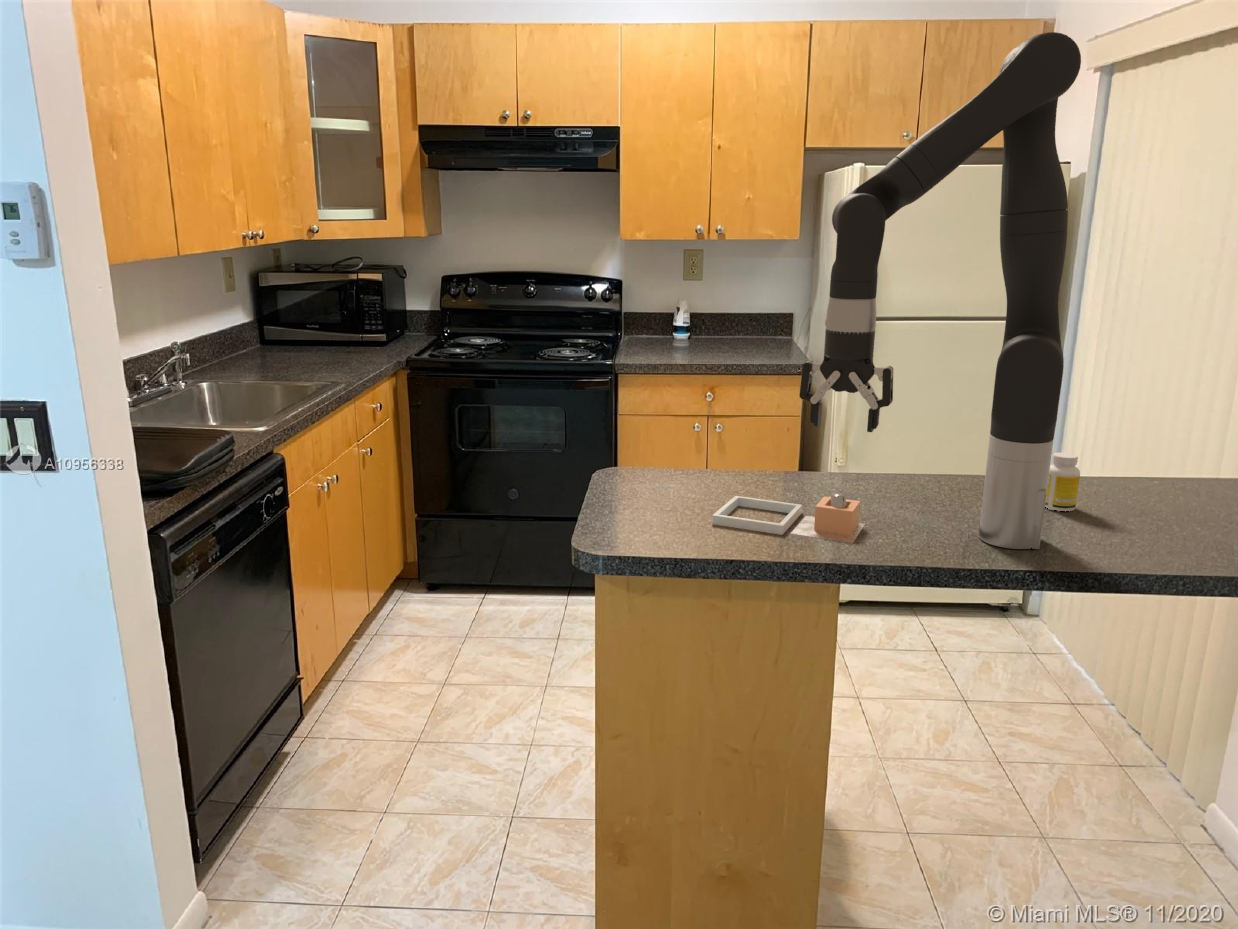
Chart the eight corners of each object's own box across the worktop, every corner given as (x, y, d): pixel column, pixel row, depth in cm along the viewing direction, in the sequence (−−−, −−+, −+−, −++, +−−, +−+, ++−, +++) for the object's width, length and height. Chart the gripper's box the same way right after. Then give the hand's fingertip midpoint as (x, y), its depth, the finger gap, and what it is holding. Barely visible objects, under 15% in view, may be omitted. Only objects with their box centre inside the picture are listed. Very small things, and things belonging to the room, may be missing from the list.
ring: (858, 524, 154) (860, 501, 152) (850, 535, 148) (852, 511, 147) (822, 518, 156) (824, 496, 155) (814, 529, 151) (815, 506, 150)
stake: (864, 529, 154) (867, 492, 152) (852, 548, 145) (855, 509, 143) (805, 521, 158) (807, 484, 156) (790, 539, 149) (792, 501, 148)
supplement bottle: (1081, 509, 164) (1089, 456, 162) (1062, 514, 162) (1069, 460, 159) (1054, 501, 169) (1061, 449, 166) (1035, 506, 166) (1042, 453, 164)
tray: (801, 518, 159) (802, 504, 159) (782, 540, 149) (783, 525, 148) (735, 509, 164) (735, 495, 164) (712, 529, 154) (712, 515, 153)
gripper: (901, 327, 144) (892, 428, 148) (811, 322, 150) (805, 419, 154) (893, 332, 137) (884, 438, 142) (799, 327, 143) (793, 429, 147)
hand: (843, 428), depth 148 cm, fingers open, 8 cm apart
